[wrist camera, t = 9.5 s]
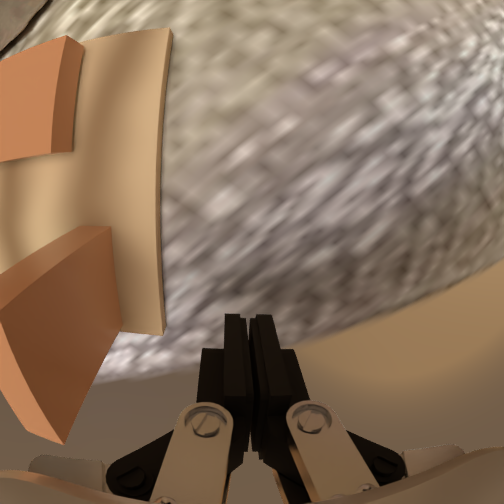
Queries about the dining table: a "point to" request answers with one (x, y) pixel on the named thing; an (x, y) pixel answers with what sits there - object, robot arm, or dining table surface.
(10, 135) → the tile
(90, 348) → the tile
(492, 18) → the dining table surface
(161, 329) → the board
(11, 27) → the stone tool
